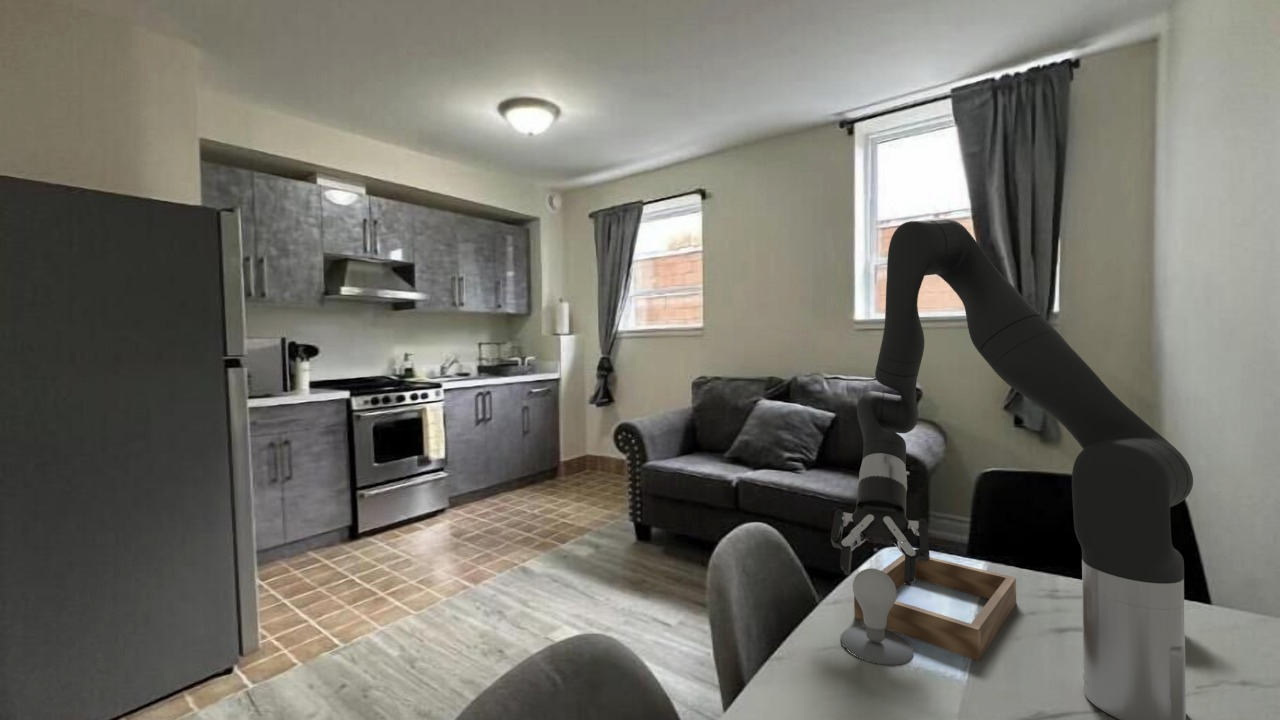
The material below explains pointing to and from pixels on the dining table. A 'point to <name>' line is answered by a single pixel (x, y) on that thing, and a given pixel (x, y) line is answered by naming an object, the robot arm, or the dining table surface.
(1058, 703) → the dining table surface
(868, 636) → the lightbulb
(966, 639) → the shallow wooden tray
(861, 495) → the robot arm
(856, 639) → the mat
